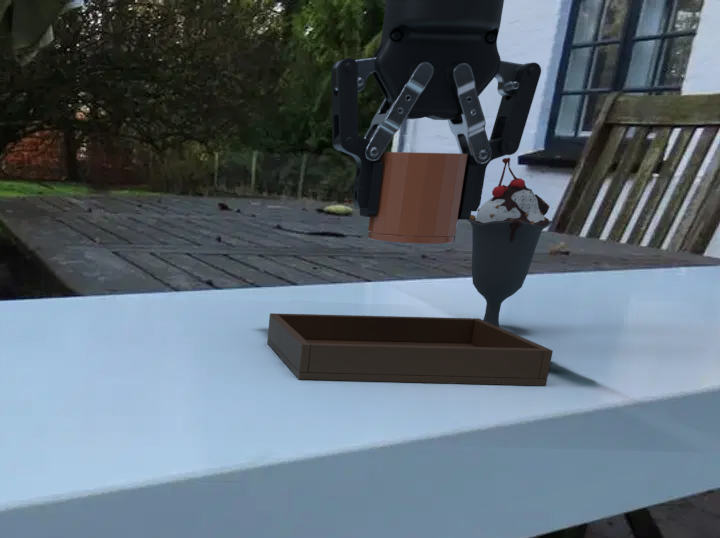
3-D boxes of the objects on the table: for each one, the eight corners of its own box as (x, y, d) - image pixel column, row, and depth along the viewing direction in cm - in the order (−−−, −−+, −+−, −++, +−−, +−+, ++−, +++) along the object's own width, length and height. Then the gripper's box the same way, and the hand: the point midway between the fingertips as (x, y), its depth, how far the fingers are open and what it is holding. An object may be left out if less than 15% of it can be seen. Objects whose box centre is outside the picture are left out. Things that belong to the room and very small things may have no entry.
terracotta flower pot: (437, 237, 70) (449, 154, 68) (467, 244, 65) (481, 154, 63) (358, 235, 70) (368, 152, 68) (380, 242, 65) (392, 151, 63)
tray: (474, 348, 77) (479, 318, 76) (546, 385, 64) (553, 350, 63) (267, 343, 77) (269, 313, 76) (298, 379, 65) (302, 344, 64)
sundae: (449, 345, 78) (479, 156, 73) (444, 331, 84) (471, 156, 79) (534, 351, 76) (571, 158, 71) (523, 337, 82) (556, 158, 77)
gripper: (356, -59, 58) (326, 218, 64) (586, -54, 58) (536, 224, 63) (328, -36, 65) (303, 212, 71) (533, -31, 65) (492, 217, 70)
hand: (414, 216), depth 67 cm, fingers closed on terracotta flower pot, 6 cm apart
